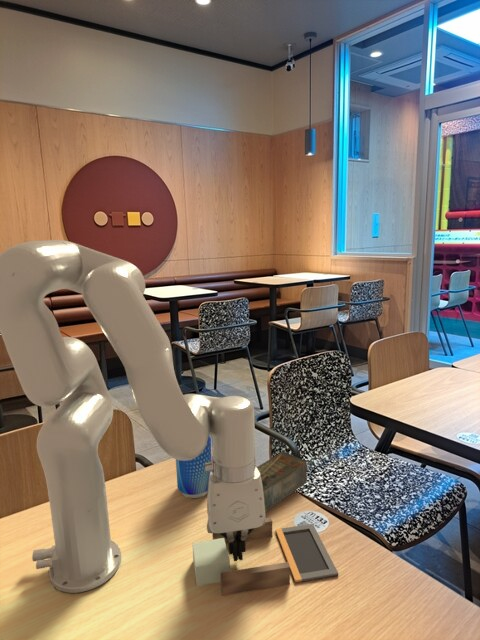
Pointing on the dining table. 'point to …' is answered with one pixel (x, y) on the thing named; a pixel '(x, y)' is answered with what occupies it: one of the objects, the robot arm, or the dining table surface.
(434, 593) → the dining table surface
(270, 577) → the brown parallel walls
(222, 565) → the block
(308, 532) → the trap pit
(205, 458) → the beer can
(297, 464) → the beverage carton
